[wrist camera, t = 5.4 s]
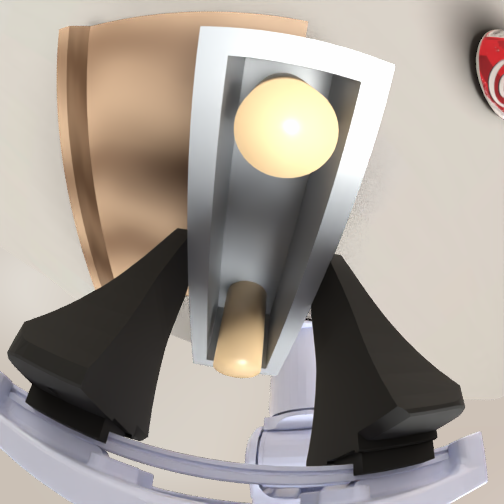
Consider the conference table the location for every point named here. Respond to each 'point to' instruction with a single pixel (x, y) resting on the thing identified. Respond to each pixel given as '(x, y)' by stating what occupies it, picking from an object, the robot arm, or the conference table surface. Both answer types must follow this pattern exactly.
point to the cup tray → (271, 185)
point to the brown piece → (133, 128)
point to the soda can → (492, 69)
